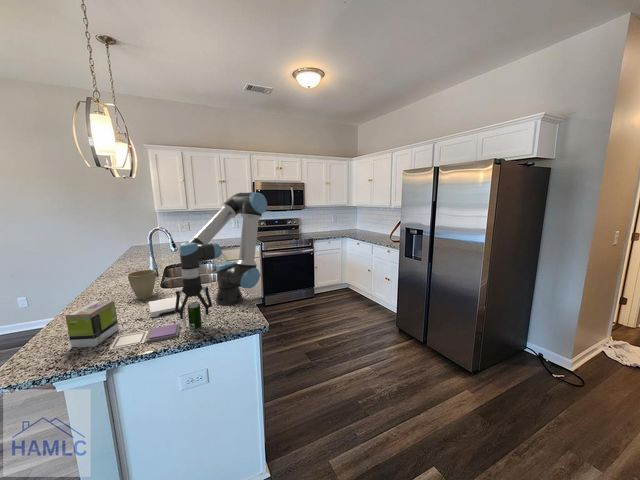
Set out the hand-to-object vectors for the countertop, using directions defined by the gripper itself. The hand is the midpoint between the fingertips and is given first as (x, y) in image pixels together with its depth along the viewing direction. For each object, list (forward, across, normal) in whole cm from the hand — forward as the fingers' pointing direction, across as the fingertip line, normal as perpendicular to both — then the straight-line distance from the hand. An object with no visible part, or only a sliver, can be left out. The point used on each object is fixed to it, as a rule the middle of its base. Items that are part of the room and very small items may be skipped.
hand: (195, 323), depth 127 cm
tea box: (+3, -40, +8) cm, 41 cm away
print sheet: (+2, -26, 0) cm, 26 cm away
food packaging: (+3, -16, +33) cm, 37 cm away
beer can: (+3, 0, 0) cm, 3 cm away
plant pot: (+3, -30, +59) cm, 66 cm away
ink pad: (+2, -13, 0) cm, 13 cm away
